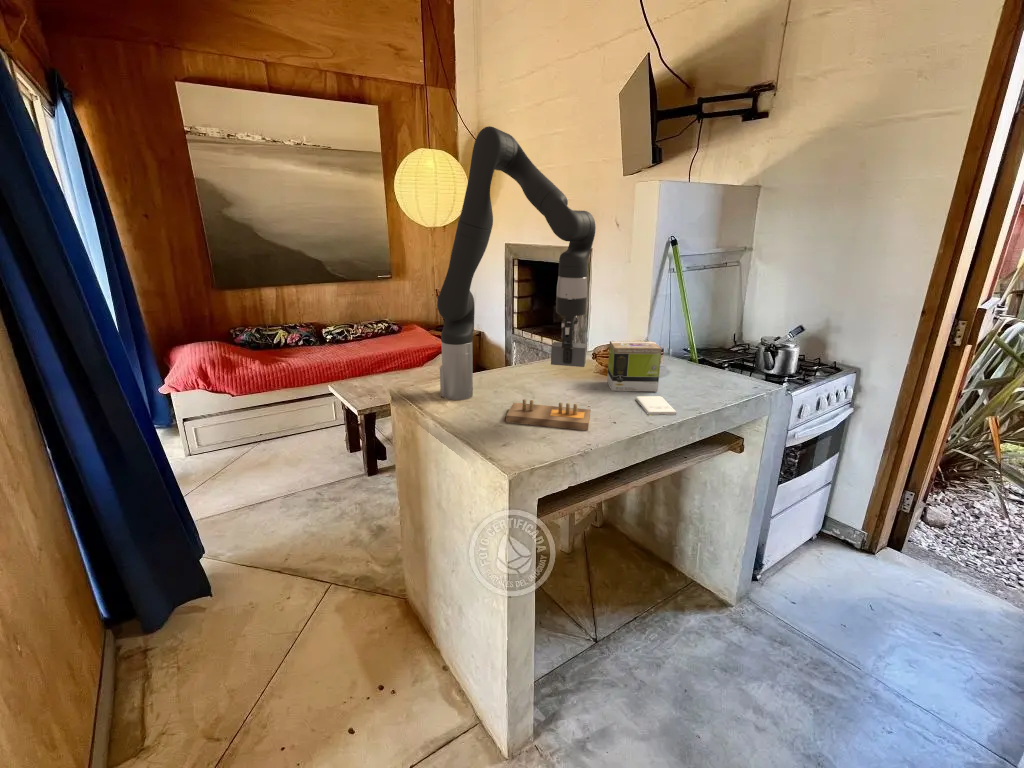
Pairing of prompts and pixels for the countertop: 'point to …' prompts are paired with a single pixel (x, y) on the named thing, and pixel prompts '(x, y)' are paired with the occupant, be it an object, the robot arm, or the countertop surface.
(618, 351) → the tea box
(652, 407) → the external hard drive
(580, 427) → the board
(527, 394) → the countertop surface
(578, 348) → the block
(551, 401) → the countertop surface
